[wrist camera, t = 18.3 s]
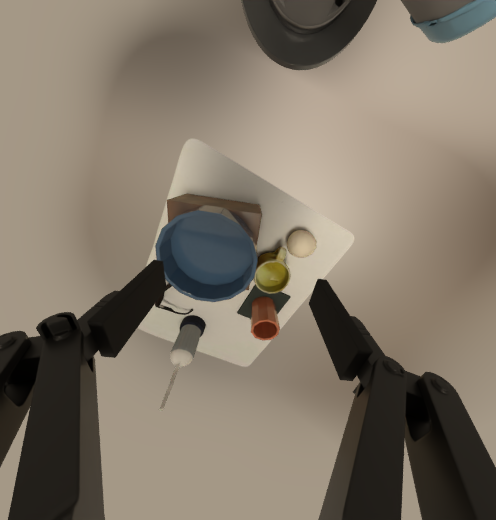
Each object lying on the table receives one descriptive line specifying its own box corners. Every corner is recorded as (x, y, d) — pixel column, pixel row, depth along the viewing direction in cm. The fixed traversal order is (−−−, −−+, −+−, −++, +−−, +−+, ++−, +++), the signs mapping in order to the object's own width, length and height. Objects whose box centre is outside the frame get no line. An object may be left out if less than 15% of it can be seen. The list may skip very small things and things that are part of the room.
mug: (277, 291, 53) (276, 303, 43) (248, 272, 54) (241, 280, 44) (301, 257, 50) (306, 262, 41) (271, 238, 51) (269, 238, 41)
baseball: (304, 254, 49) (311, 266, 43) (280, 246, 48) (285, 256, 42) (317, 233, 46) (326, 242, 41) (292, 223, 45) (298, 231, 39)
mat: (257, 281, 54) (257, 282, 53) (290, 296, 56) (290, 297, 55) (237, 312, 59) (237, 313, 59) (268, 324, 62) (268, 325, 61)
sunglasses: (170, 274, 53) (165, 285, 49) (205, 291, 57) (203, 302, 53) (156, 297, 57) (150, 308, 52) (190, 310, 61) (187, 322, 57)
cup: (277, 297, 56) (282, 321, 47) (272, 316, 59) (275, 341, 50) (253, 294, 55) (253, 318, 46) (249, 313, 59) (249, 338, 50)
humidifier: (179, 327, 63) (139, 413, 41) (186, 312, 60) (147, 396, 37) (200, 335, 64) (174, 421, 42) (208, 320, 61) (184, 405, 39)
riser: (259, 204, 43) (261, 214, 34) (249, 267, 51) (248, 290, 42) (186, 193, 43) (166, 200, 33) (187, 259, 51) (171, 280, 41)
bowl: (263, 213, 34) (265, 220, 29) (249, 290, 42) (249, 306, 37) (165, 198, 33) (150, 203, 28) (171, 281, 41) (160, 295, 36)
